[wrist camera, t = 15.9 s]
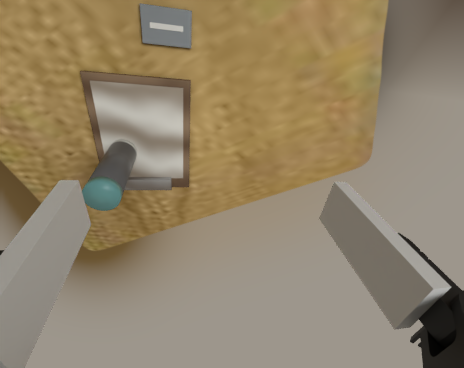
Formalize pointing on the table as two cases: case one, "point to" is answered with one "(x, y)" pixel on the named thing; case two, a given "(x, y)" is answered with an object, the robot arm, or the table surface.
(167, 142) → the clipboard
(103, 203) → the marker
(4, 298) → the robot arm
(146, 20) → the word card
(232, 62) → the table surface
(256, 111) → the table surface
